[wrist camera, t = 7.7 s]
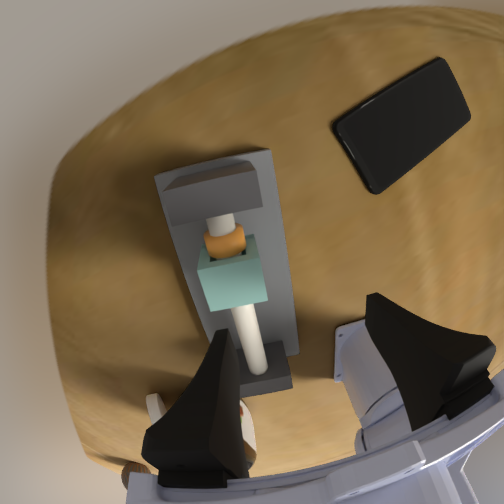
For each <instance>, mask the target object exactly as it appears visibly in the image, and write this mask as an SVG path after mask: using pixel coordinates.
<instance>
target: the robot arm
mask: <svg viewBox="0 0 504 504" xmlns="http://www.w3.org/2000/svg"><path fill="white" fill-rule="evenodd" d="M339 334H340V335H339ZM495 352H496V346H495V345H494V344H493V342H492V341H491V340H490V339H489V338H488V337H487V336H484V335H475V334H468V333H463V332H459V331H455V330H451V329H448V328H445V327H442V326H439V325H436V324H434V323H432V322H429V321H427V320H425V319H423V318H421V317H419V316H417V315H415V314H413V313H411V312H409V311H407V310H406V309H404V308H402V307H401V306H399V305H397V304H396V303H394V302H392V301H391V300H389V299H387V298H386V297H384V296H383V295H381V294H379V293H377V292H376V293H373V294H369V295H367V299H366V315H365V319H364V320H360V321H357V322H353V323H350V324H347V325H343V326H340V327H338V328H337V329H336V330H335V362H334V381H335V382H340V381H343V383H344V385H345V388H346V390H347V393H348V395H349V398H350V400H351V403H352V405H353V408H354V410H355V413H356V415H357V417H358V418H359V421H360V423H361V426H362V428H361V429H359V430H358V431H357V433H356V438H355V442H354V445H355V451H356V455H353V456H350V457H347V458H344V459H341V460H337V461H334V462H330V463H327V464H323V465H319V466H315V467H311V468H306V469H302V470H297V471H292V472H287V473H281V474H275V475H269V476H261V477H253V478H250V477H249V472H248V466H247V461H246V455H245V449H244V442H243V435H242V427H241V418H240V370H239V361H238V355H237V352H236V349H235V346H234V343H233V340H232V338H231V335H230V332H229V329H228V328H226V329H220V330H216V331H215V333H214V336H213V339H212V341H211V344H210V346H209V349H208V351H207V353H206V355H205V357H204V359H203V362H202V364H201V365H200V367H199V369H198V371H197V373H196V375H195V376H194V378H193V380H192V381H191V383H190V384H189V386H188V387H187V389H186V390H185V391H184V393H183V394H182V395H181V397H180V398H179V399H178V400H177V402H176V403H175V404H174V405H173V406H172V407H171V408H170V409H169V410H168V411H167V412H166V413H165V414H164V415H163V416H162V417H161V418H160V419H159V420H158V421H157V422H155V423H154V424H153V425H152V426H151V427H149V428H148V429H147V430H146V433H145V436H144V440H143V446H142V452H141V455H142V457H143V459H144V460H145V461H147V462H148V463H149V464H151V465H152V466H154V467H155V468H157V469H158V470H159V473H158V475H154V474H149V473H140V472H130V475H129V482H128V490H127V498H126V504H479V502H478V500H477V498H476V496H475V494H474V491H473V489H472V487H471V485H470V483H469V481H468V479H467V477H466V475H465V473H464V471H463V469H462V468H463V466H464V464H465V462H466V461H467V459H468V457H469V455H470V453H471V451H472V450H473V449H474V448H475V447H477V446H478V445H479V444H480V443H482V442H483V441H484V440H486V439H487V438H488V437H489V436H490V435H492V434H493V433H494V432H495V431H497V430H498V429H499V428H500V427H501V426H502V425H503V424H504V369H503V370H502V371H500V372H499V373H498V374H496V375H495V376H494V377H493V378H492V379H491V380H490V379H489V378H488V376H489V375H490V373H489V372H488V370H487V368H488V366H489V364H490V363H491V361H492V359H493V357H494V355H495Z"/></svg>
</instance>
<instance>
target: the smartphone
mask: <svg viewBox="0 0 504 504" xmlns="http://www.w3.org/2000/svg"><path fill="white" fill-rule="evenodd" d="M470 119H471V114H470V111H469V108H468V106H467V104H466V101H465V99H464V96H463V94H462V92H461V90H460V88H459V85H458V83H457V81H456V79H455V77H454V75H453V73H452V71H451V69H450V67H449V65H448V64H447V62H446V60H445V59H443V58H440V57H439V58H437V59H435V60H433V61H431V62H429V63H427V64H426V65H424V66H422V67H420V68H418V69H417V70H415V71H413V72H412V73H410V74H408V75H406V76H405V77H403V78H401V79H400V80H398V81H396V82H395V83H393V84H391V85H390V86H388V87H386V88H385V89H383V90H382V91H380V92H378V93H377V94H375V95H374V96H372V97H371V98H369V99H367V100H366V101H364V102H363V103H361V104H360V105H358V106H357V107H355V108H354V109H352V110H351V111H349V112H348V113H346V114H345V115H343V116H342V117H340V118H339V119H337V120H336V121H335V122H334V123H333V132H334V133H335V135H336V137H337V138H338V140H339V141H340V143H341V144H342V146H343V148H344V149H345V151H346V152H347V154H348V156H349V157H350V159H351V160H352V162H353V164H354V165H355V167H356V169H357V170H358V172H359V174H360V176H361V177H362V179H363V181H364V183H365V184H366V186H367V188H368V190H369V191H370V192H371V193H372V194H375V195H377V194H380V193H381V192H383V191H384V190H385V189H387V188H388V187H389V186H390V185H392V184H393V183H394V182H396V181H397V180H398V179H399V178H401V177H402V176H403V175H404V174H406V173H407V172H408V171H409V170H411V169H412V168H413V167H414V166H416V165H417V164H418V163H419V162H421V161H422V160H423V159H424V158H426V157H427V156H428V155H429V154H430V153H432V152H433V151H434V150H435V149H436V148H438V147H439V146H440V145H441V144H443V143H444V142H445V141H446V140H447V139H449V138H450V137H451V136H452V135H453V134H454V133H456V132H457V131H458V130H459V129H460V128H462V127H463V126H464V125H465V124H466V123H467V122H468V121H470Z"/></svg>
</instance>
